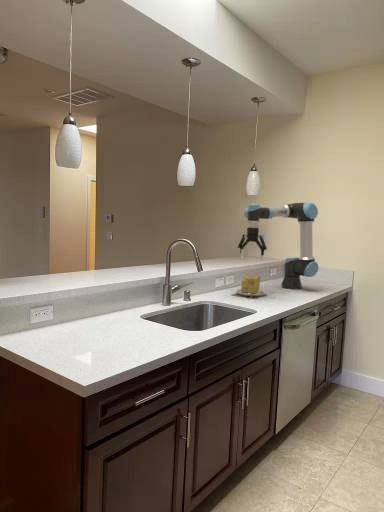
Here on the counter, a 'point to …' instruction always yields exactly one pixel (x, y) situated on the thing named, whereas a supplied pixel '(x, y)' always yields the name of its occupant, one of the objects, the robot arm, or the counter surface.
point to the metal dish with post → (259, 293)
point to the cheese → (250, 284)
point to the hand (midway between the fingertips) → (251, 259)
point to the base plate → (248, 296)
